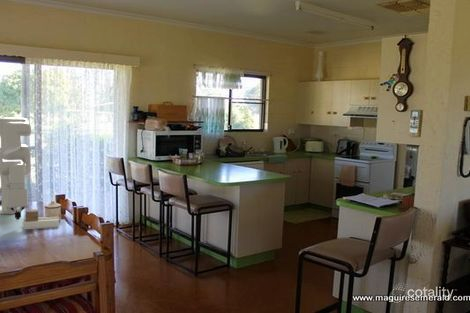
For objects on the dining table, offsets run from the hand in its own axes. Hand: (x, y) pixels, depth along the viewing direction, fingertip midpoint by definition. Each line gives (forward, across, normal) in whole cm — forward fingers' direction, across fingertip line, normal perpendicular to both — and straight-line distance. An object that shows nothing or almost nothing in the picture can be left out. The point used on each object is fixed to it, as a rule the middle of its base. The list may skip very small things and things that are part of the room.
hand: (18, 218), depth 231 cm
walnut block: (+4, +7, 0) cm, 8 cm away
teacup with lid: (+5, +17, +13) cm, 22 cm away
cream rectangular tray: (+5, +12, 0) cm, 13 cm away
